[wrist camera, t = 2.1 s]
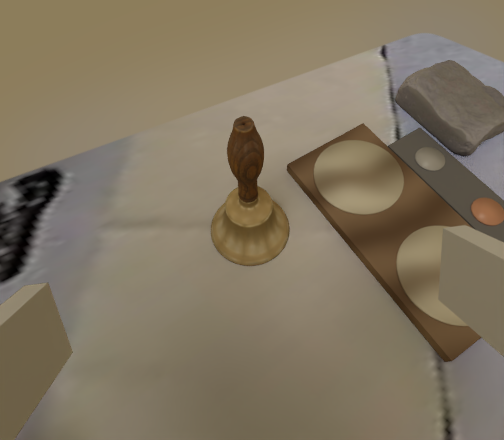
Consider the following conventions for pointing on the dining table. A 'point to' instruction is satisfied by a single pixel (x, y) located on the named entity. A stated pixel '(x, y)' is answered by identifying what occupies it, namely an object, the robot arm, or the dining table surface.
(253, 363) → the dining table surface
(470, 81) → the stone block
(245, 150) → the hand bell
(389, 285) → the board
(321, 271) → the dining table surface
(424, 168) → the pattern card
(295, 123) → the dining table surface
